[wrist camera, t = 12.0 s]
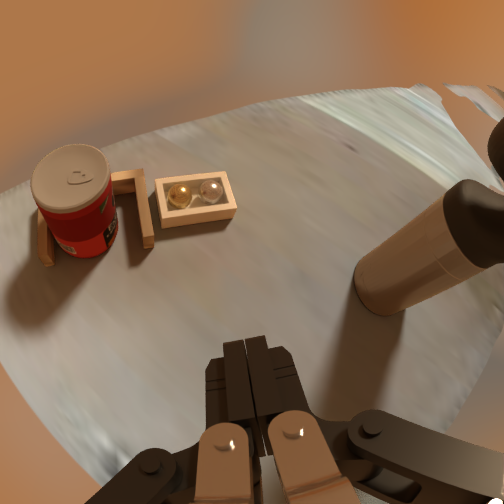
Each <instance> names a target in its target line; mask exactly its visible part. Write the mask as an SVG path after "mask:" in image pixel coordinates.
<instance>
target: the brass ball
mask: <svg viewBox="0 0 504 504" xmlns="http://www.w3.org/2000/svg"><path fill="white" fill-rule="evenodd" d="M167 199H168V202H169V204H170V205H171V206H172V207H173V208H176V209H183V208H186V207H187V206H188V205H189V204H190V203H191V201H192V192H191V190H190V188H189V187H188V186H186V185H184V184H176V185H174V186H172V187H171V188H170V190H169V191H168V194H167Z"/></svg>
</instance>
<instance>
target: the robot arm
mask: <svg viewBox="0 0 504 504" xmlns="http://www.w3.org/2000/svg"><path fill="white" fill-rule="evenodd" d="M488 156H489V158H490V161H491V162H492V165H493V166H494V168H495V170H496V171H497V173H498V174H499V176H500V177H501V178H502V180H503V181H504V117H503V119H502V120H501V121H500V122H499V123H498V124H497V125H496V127H495V128H494V130H493V131H492V133H491V135H490V138H489V141H488ZM498 263H504V196H503V195H500V194H498V193H496V192H494V191H492V190H491V189H489V188H487V187H486V186H484V185H482V184H481V183H479V182H477V181H474V180H470V179H466V180H462V181H460V182H458V183H457V184H455V185H454V186H453V187H452V188H451V189H450V190H448V191H447V192H446V193H445V194H444V195H443V196H441V197H440V198H439V199H438V200H436V201H435V202H434V203H433V204H432V205H430V206H429V207H428V208H427V209H426V210H424V211H423V212H422V213H421V214H419V215H418V216H417V217H416V218H414V219H413V220H412V221H410V222H409V223H408V224H407V225H405V226H404V227H403V228H401V229H400V230H399V231H398V232H396V233H395V234H394V235H392V236H391V237H390V238H388V239H387V240H386V241H384V242H383V243H382V244H381V245H379V246H378V247H376V248H375V249H374V250H372V251H371V252H370V253H368V254H367V255H366V256H364V257H363V258H362V259H361V260H360V261H359V262H358V264H357V266H356V269H355V273H354V282H355V287H356V291H357V293H358V296H359V298H360V299H361V301H362V302H363V304H364V305H365V306H366V307H367V308H368V309H369V310H370V311H372V312H373V313H375V314H378V315H382V316H388V315H392V314H394V313H397V312H399V311H401V310H404V309H406V308H408V307H411V306H413V305H415V304H418V303H420V302H422V301H424V300H426V299H428V298H431V297H433V296H435V295H437V294H439V293H441V292H443V291H445V290H447V289H449V288H451V287H453V286H455V285H457V284H459V283H461V282H463V281H465V280H467V279H469V278H471V277H473V276H474V275H476V274H478V273H480V272H482V271H484V270H486V269H488V268H489V267H491V266H493V265H495V264H498ZM245 344H246V349H245V345H244V341H243V339H242V340H237V341H232V342H226V343H223V352H224V357H222V358H216V359H211V361H210V362H209V364H208V366H207V368H206V370H205V381H206V430H205V432H204V433H203V434H202V436H201V438H200V440H199V442H197V443H196V444H195V445H193V446H192V447H190V448H187V449H185V450H182V451H179V452H176V453H174V454H171V453H169V452H168V451H166V450H164V449H160V448H150V449H146V450H144V451H142V452H140V453H139V454H138V455H136V456H135V457H134V458H133V459H132V460H131V461H130V462H129V463H128V464H127V465H126V466H125V467H124V468H123V469H122V470H121V471H120V472H119V473H117V474H116V475H115V476H114V477H113V478H112V479H111V480H110V481H109V482H108V483H107V484H106V485H104V486H103V487H102V488H101V489H100V490H99V491H98V492H97V493H96V494H95V495H93V497H91V498H90V499H89V500H88V501H87V502H86V503H85V504H264V503H263V489H262V477H261V465H260V459H259V457H264V456H266V454H265V449H264V443H265V447H266V450H267V454H268V456H269V455H273V456H274V461H275V465H276V469H277V473H278V476H279V480H280V483H281V486H282V489H283V492H284V496H285V499H286V502H287V504H361V503H360V501H359V499H358V497H357V495H356V492H355V490H354V488H353V487H355V488H357V489H359V490H361V491H364V492H366V493H368V494H370V495H372V496H374V497H376V498H378V499H380V500H383V501H385V502H387V503H389V504H504V453H501V452H497V451H493V450H491V449H487V448H484V447H480V446H477V445H474V444H471V443H468V442H465V441H462V440H459V439H456V438H453V437H450V436H447V435H444V434H442V433H439V432H436V431H433V430H430V429H428V428H425V427H422V426H420V425H417V424H414V423H412V422H409V421H407V420H404V419H402V418H399V417H396V416H394V415H392V414H389V413H387V412H384V411H381V410H367V411H364V412H361V413H359V414H357V415H356V416H355V417H354V418H353V419H352V420H351V422H330V421H325V420H322V419H320V418H318V417H317V416H315V415H314V414H313V413H312V412H311V410H310V409H309V406H308V403H307V400H306V397H305V394H304V391H303V388H302V385H301V382H300V379H299V376H298V374H297V371H296V368H295V365H294V362H293V359H292V356H291V354H290V353H289V352H288V351H287V350H286V349H285V348H284V347H283V346H279V347H275V348H270V349H268V346H267V342H266V338H265V335H263V336H258V337H253V338H247V339H245ZM246 350H247V354H246ZM247 356H248V358H247ZM262 435H263V438H262ZM263 439H264V443H263Z"/></svg>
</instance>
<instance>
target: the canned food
mask: <svg viewBox="0 0 504 504" xmlns="http://www.w3.org/2000/svg"><path fill="white" fill-rule="evenodd" d="M30 187H31V192H32V195H33V198H34V200H35V202H36V204H37V206H38V208H39V210H40V212H41V214H42V216H43V217H44V219H45V221H46V223H47V225H48V227H49V228H50V230H51V232H52V234H53V235H54V237H55V239H56V240H57V242H58V244H59V245H60V247H61V248H62V249H63V250H64V251H65V252H66V253H68V254H70V255H72V256H74V257H77V258H92V257H96V256H98V255H100V254H102V253H103V252H105V251H106V250H107V249H108V248H109V247H110V246H111V245H112V243H113V242H114V240H115V237H116V235H117V231H118V218H117V212H116V206H115V200H114V194H113V187H112V180H111V174H110V168H109V164H108V161H107V159H106V157H105V156H104V154H103V153H102V152H101V151H100V150H98V149H97V148H95V147H92V146H89V145H85V144H72V145H66V146H63V147H60V148H58V149H55V150H54V151H52V152H50V153H49V154H47V155H46V156H45V157H44V158H43V159H42V160H41V161H40V162H39V163H38V165H37V166H36V167H35V169H34V171H33V173H32V177H31V182H30Z"/></svg>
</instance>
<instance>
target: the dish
mask: <svg viewBox="0 0 504 504" xmlns="http://www.w3.org/2000/svg"><path fill="white" fill-rule="evenodd" d="M209 180H212V181H216V182H217V183H219V184H220V186H221V187H222V190H223V195H222V198H221V200H220V201H219V202H218V203H216V204H214V205H207V204H204V203H203V202H202V201H201V200H200V199H199V196H198V190H199V187H200V186H201V184H202V183H204V182H206V181H209ZM176 184H184V185H186V186H188V187H189V188H190V190H191V192H192V201H191V203H190V204H189V205H188V206H187V207H186V208H183V209H176V208H173V207H172V206H171V205H170V204H169V202H168V199H167V194H168V191H169V190H170V188H171V187H172V186H174V185H176ZM155 196H156V201H157V207H158V212H159V217H160V222H161V227H162V229H164V228H170V227H176V226H183V225H189V224H196V223H203V222H209V221H216V220H223V219H230V218H233V217H234V214H235V212H236V210H237V206H236V203H235V200H234V196H233V193H232V190H231V187H230V184H229V181H228V178H227V175H226V172H225V171H224V172H213V173H203V174H194V175H185V176H176V177H168V178H160V179H155Z"/></svg>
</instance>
